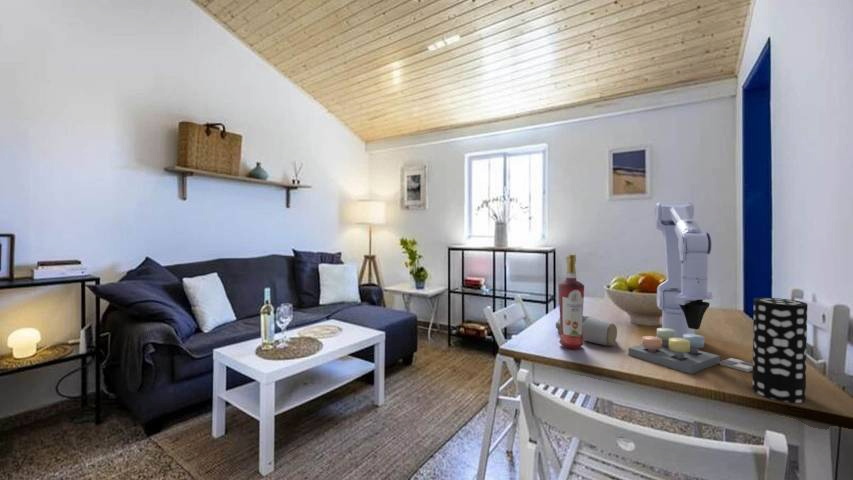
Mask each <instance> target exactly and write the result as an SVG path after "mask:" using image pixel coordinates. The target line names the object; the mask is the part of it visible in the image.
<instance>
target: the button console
mask: <svg viewBox="0 0 853 480" xmlns="http://www.w3.org/2000/svg"><path fill="white" fill-rule="evenodd" d="M628 355H629V356H630V357H635V358H637V359H641V360H644V361H647V362H650V363H654V364H657V365H661V366H664V367H667V368H671V369H672V370H673V369H675V370H677V371H681V372H684V373H687V374H689V375H692V374H694V373H697V372H700V371H703V370H705V369H708V368H710V367H712V366H717V365H719V364H720V355H718V354H714V353H712V352H711V353H710V352H707V351H703V350H699V349H698V355H692V354H689V352H684V360H678V359H675V351H673V350H670V349H669V348H665V347H662V349H660V350H656V353H653V352H649V351H648V349H647V348H644V347H643V346H642V343H641V344H638V345H634V346H631V347H628Z"/></svg>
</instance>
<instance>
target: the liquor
mask: <svg viewBox="0 0 853 480" xmlns="http://www.w3.org/2000/svg"><path fill="white" fill-rule="evenodd" d="M565 257H566V258H565V260H566V274H565V280H562V281H561V282H559V283H558V284H557V285H558V287H557V288H558V290H557V291H558V304H559V305H558V306H559V307H558V308H559V318H560V329H561V334H560V339H559V341H558V343H559V344H560V345H561V346H562V347H563V348H565V349H567V350H579V349H580V348H581V347H582V346H584V343H583V338H582V320H583V316H584V303H585V302H584V300H585V299H584V298H585V284H583V283H582V282H580V281H578V280H577V273H576V272H577V271H576V262H577V259H576V258H577V255H576V254H566V256H565Z"/></svg>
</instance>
